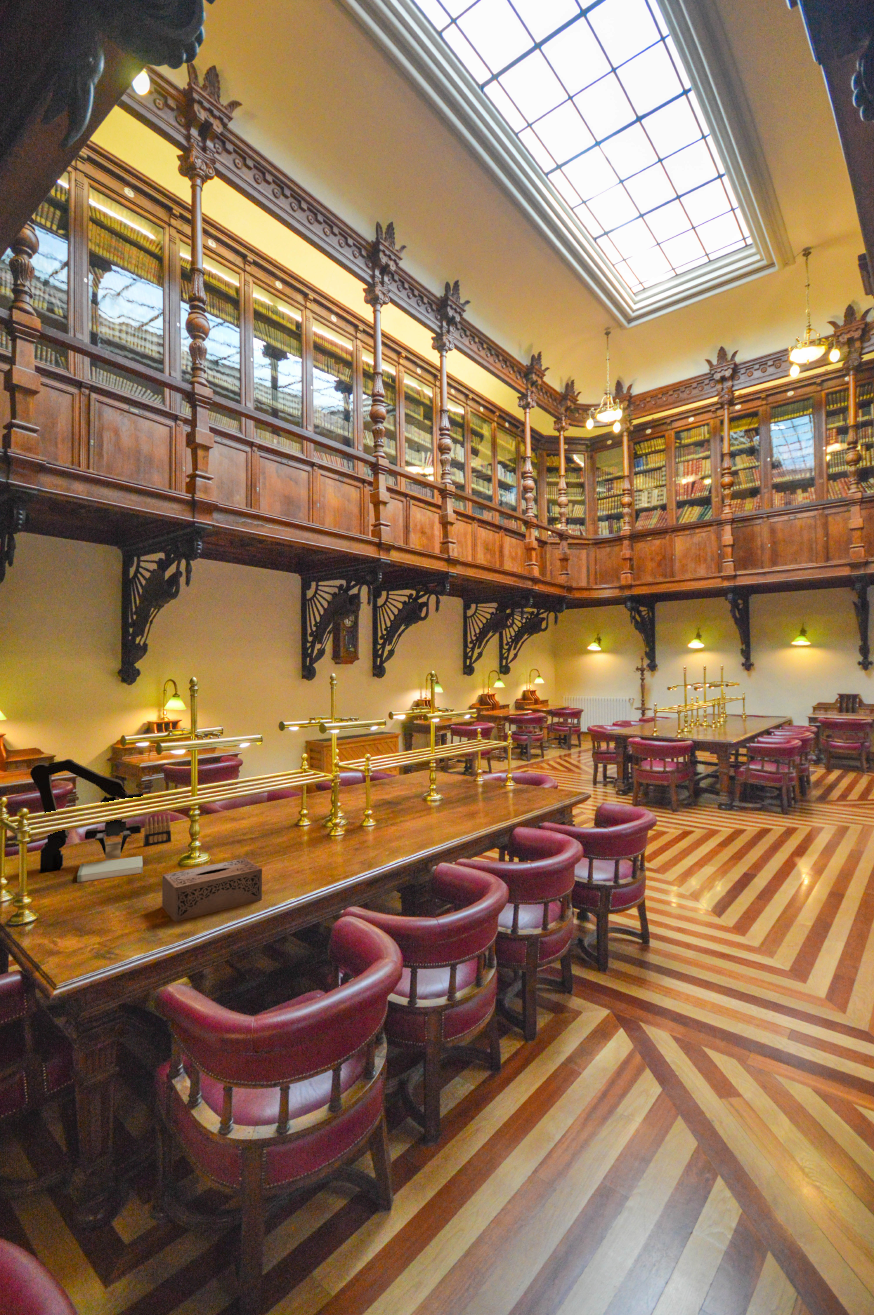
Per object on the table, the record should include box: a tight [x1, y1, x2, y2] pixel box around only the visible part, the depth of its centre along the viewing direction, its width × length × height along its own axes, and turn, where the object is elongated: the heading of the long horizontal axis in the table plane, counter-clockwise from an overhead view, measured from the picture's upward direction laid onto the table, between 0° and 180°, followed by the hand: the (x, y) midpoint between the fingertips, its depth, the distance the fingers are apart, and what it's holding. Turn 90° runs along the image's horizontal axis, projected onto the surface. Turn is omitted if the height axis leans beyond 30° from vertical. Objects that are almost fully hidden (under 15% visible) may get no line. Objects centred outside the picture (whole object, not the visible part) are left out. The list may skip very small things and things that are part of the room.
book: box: [76, 855, 144, 883], centre depth 207 cm, size 20×14×3 cm
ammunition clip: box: [142, 813, 172, 847], centre depth 243 cm, size 11×2×12 cm, turn 133°
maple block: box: [104, 840, 122, 860], centre depth 219 cm, size 5×5×5 cm
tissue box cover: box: [161, 857, 263, 923], centre depth 177 cm, size 26×14×10 cm, turn 129°
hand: (113, 853), depth 219 cm, fingers closed on maple block, 5 cm apart
